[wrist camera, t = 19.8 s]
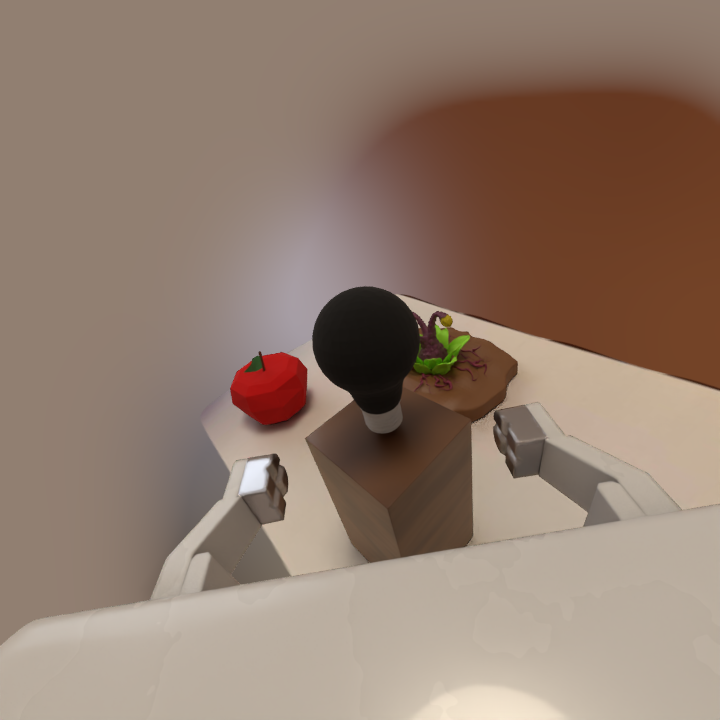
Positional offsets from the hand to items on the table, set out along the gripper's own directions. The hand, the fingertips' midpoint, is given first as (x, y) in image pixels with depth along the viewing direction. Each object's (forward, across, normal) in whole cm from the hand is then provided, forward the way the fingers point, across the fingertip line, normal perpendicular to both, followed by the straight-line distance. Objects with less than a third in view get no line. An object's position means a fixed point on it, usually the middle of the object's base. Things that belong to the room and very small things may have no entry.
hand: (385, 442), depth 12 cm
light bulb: (+7, 0, +7) cm, 10 cm away
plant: (+29, -8, +22) cm, 38 cm away
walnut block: (+7, 0, +22) cm, 23 cm away
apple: (+30, +16, +22) cm, 40 cm away
